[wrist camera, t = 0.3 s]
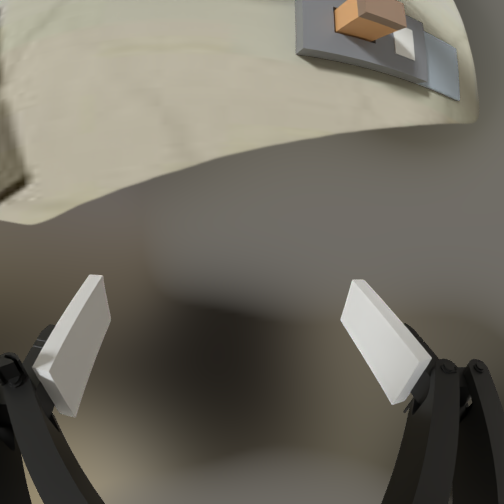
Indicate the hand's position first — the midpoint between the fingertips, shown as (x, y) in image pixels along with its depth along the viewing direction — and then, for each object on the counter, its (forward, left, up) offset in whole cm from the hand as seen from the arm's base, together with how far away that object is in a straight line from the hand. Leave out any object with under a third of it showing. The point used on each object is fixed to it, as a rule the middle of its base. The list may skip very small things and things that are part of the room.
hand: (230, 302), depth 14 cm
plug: (-27, +19, -27) cm, 43 cm away
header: (-27, +22, -27) cm, 44 cm away
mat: (-27, +39, -27) cm, 55 cm away
